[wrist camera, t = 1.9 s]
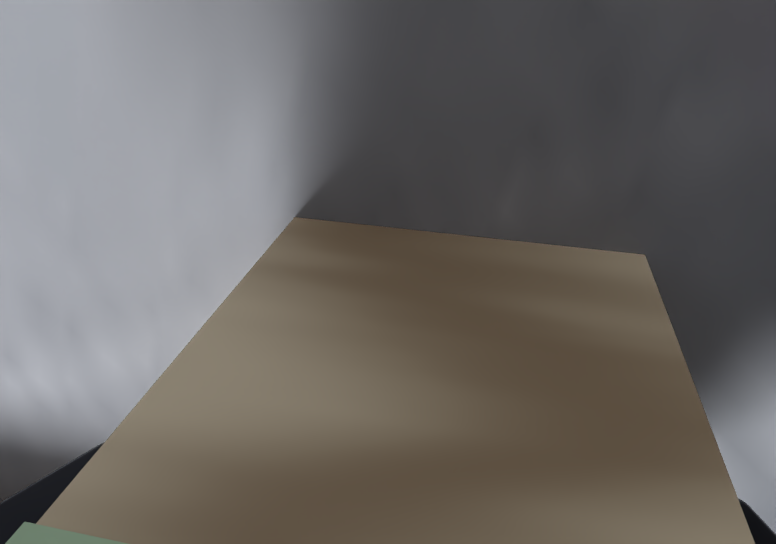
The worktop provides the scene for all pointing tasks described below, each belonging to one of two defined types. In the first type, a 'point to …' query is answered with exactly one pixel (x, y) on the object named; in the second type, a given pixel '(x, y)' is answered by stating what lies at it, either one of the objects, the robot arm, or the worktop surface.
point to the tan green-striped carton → (415, 407)
